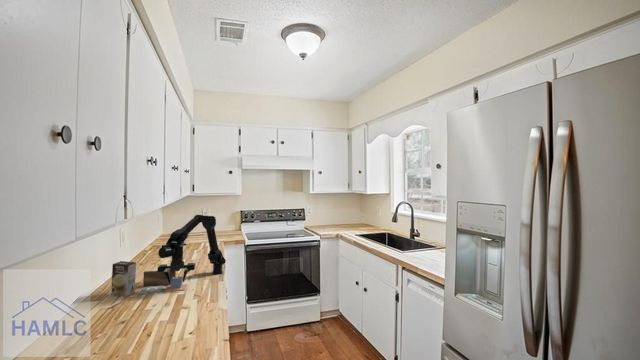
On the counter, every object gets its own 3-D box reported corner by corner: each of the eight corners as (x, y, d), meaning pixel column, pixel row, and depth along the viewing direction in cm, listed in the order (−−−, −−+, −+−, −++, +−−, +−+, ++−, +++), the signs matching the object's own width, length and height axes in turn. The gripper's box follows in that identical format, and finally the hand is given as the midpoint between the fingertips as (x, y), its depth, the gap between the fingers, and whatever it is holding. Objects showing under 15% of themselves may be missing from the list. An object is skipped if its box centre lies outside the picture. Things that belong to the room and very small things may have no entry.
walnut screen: (144, 285, 173) (144, 271, 173) (175, 283, 177) (175, 269, 178) (143, 286, 171) (143, 272, 171) (174, 284, 175) (175, 270, 176)
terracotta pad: (168, 286, 173) (168, 285, 173) (187, 284, 175) (187, 283, 176) (164, 291, 163) (164, 290, 163) (184, 290, 166) (184, 289, 166)
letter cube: (172, 286, 171) (172, 276, 171) (181, 285, 172) (182, 276, 173) (170, 288, 166) (170, 279, 166) (180, 288, 168) (180, 278, 168)
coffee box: (110, 295, 156) (111, 263, 157) (119, 291, 163) (120, 261, 163) (126, 296, 155) (128, 264, 156) (135, 292, 162) (136, 261, 162)
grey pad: (144, 287, 169) (144, 286, 169) (164, 286, 172) (164, 285, 172) (139, 293, 160) (139, 292, 160) (160, 292, 162) (160, 291, 162)
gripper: (155, 258, 159) (154, 288, 159) (193, 257, 165) (192, 286, 164) (160, 254, 170) (159, 282, 170) (195, 252, 176) (195, 280, 175)
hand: (176, 282), depth 169 cm, fingers open, 7 cm apart
